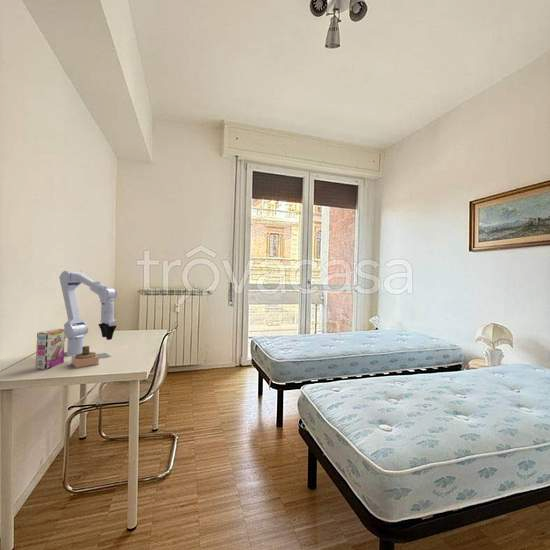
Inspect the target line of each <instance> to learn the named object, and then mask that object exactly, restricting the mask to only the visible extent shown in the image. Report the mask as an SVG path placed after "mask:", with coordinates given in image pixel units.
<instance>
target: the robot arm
mask: <svg viewBox="0 0 550 550" xmlns="http://www.w3.org/2000/svg"><path fill="white" fill-rule="evenodd" d="M58 278H59V282H60V287H61V291H62V295H63V302H64V305H65V306H64V307H65V310H66V315H67V321H66V322H65V323H64V324H63V329H65V338H66V339H67V341H66V342H67V344H66V345H67V346H66V351H64V354H66V355H67V357H72V356H76V354H79V353H82V347H84V346H85V337H86V335H87V334H88V332H89V327H88V325H87V323H86V320H85V319H83V318H81V314H80V310H79V305H78V300H77V296H76V291H75V290H76V288H78V287H79V286H80V285H81V284H83V285H85V286H87V287H89V290H90V291H91V292H93V293H94V294H96V295H97V296H98V297H99V302H100V304H101V305H100V306H101V307H100V309H101V310H100V323H98V324H97V325H98V327H99V329H100V333H101V337H102V338H105V339H106V340H107V341H110V340H113V337H114V332H115V330H116V328H117V325H115V322H117V319H115V318H114V317H115V299H116V298H117V296H118V293H117V289H115V288H114V287H109V286H108V285H105V284H103V282H102V281H101V280H93V279H92V278H90V277H89V276H87V275H86V273H85V272H83V271H81V270H79V271H77V270H76V271H74V270H72V271H70V270H68V271H67V270H63V271H62V272H61V274H60V275H59V277H58Z"/></svg>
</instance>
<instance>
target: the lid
mask: <svg viewBox="0 0 550 550" xmlns="http://www.w3.org/2000/svg"><path fill="white" fill-rule="evenodd" d="M75 356H76V358H77V359H86V358H91V357H94V356H96V352H94V351H90V345H84V347H82V353H79V354H76V355H75Z"/></svg>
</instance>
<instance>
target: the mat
mask: <svg viewBox="0 0 550 550" xmlns="http://www.w3.org/2000/svg"><path fill="white" fill-rule="evenodd" d="M96 355H97V356H98V357H99V360H101V359H106V358H112V356H111V355H109V354H108V353H107V352H103V353H97V354H96Z"/></svg>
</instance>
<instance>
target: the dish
mask: <svg viewBox="0 0 550 550" xmlns="http://www.w3.org/2000/svg"><path fill="white" fill-rule="evenodd" d="M99 360H100V359H99V357H98V356H97V355H96V356H94V357H91V358H86V359H77V358H76V355H73V356H71V365H72V367H74V368H75V369H80V368H86V367H92V366H97V365H98V366H99Z"/></svg>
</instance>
